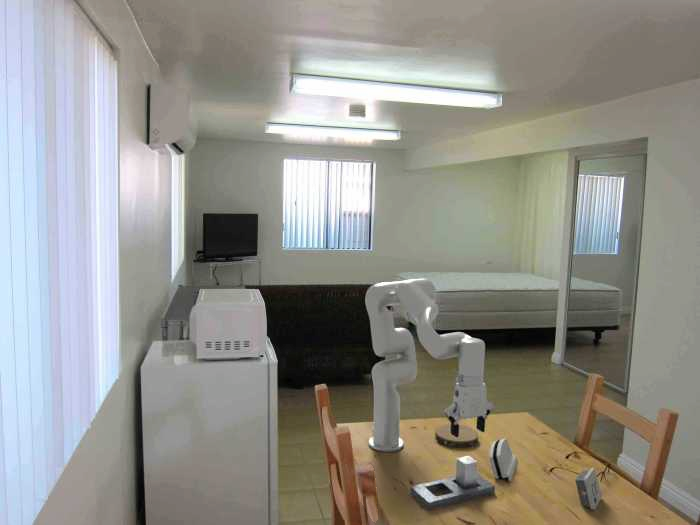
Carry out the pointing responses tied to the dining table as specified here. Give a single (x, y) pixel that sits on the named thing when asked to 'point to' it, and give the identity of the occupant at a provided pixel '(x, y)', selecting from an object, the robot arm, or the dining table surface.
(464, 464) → the steel block
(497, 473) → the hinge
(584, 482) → the electrical switch
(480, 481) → the grey tray with holes
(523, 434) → the dining table surface
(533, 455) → the dining table surface
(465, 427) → the wood slice
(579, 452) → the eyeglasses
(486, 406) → the robot arm
